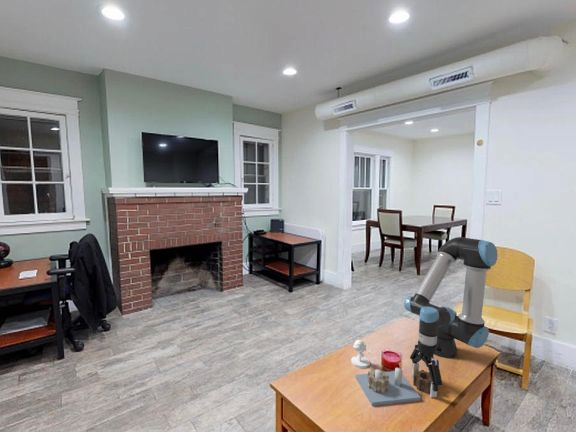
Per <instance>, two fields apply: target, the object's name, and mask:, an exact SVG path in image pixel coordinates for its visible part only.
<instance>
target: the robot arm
mask: <svg viewBox="0 0 576 432" xmlns="http://www.w3.org/2000/svg"><path fill="white" fill-rule="evenodd" d="M435 254H436V258H435V259H434V261H433V263H432V265H431V266H430V267H429V270H428V271H427V273H426V274H425V276H424V278H423V280H422V282H421V283H420V285H419V286H418V288H417V291H416V292H415V294H414V295H413V296H411V295H409V296H407V297H405V300H404V302H403V307H404V309H405V310H406V311H408V312H410V313H411V314H413V315H416V316H418V317H419V323H418V324H419V325H418V338H417V339H418V340H417V344H415V345H414V349H413V351H412V352H411V355H410V356H409V359H410V360H411V362H412V371H411V372H412V373H411V374H412V375H411V377H412V378H414V374H415V371H416V370H417V371H420V361H423V362H424V363H425V366H426V367H427V369H428V373H430V376H431V379H432V382H431V391H430V392H429V397H430V398H437V397H438V391H439V387H441V386H443V380H442V375H441V370H440V363H439V360H438V359H435V356H434V355H436V356H438V357H442V358H454V357H456V356H457V355H458V347H457V344H456V341H455V340H457V341H459V342H461V343H463V344H466V345H467V346H469V347H470V346H471V347H472V348H476V349H479V348H481V347H483V346H484V345H485V343H486V342H487V340H488V338H489V335H490V330H489V328H488V327H487V326H485V323H486V322H485V320H484V319H483V318H482V316H483V307H484V297H485V289H486V288H485V287H486V282H487V281H486V280H487V272H489V271H490V270H491V269H492V268H491V267H493V266H495V265H496V264H497V261H498V257H499V256H498V250H497V246H495V244H494V243H493V242H492V241H487V240H484V239H476V238H469V237H463V236H458V237H454V238H451V239H449V240H447V241H446V242H445V243H443V244H442V245H441V246H440V247H439V249H438V250H437V252H436V253H435ZM457 260H462V261H463V263H462V264H463V267H465V268H466V269H465V270H466V271H465V277H464V278H465V281H464V288H463V289H464V290H463V298H462V307H461V313H460V314H458V313H457V311H456V310H454V309H452V308H450V307H449V306H445V305H444V306H438V305H435V304H432V303H430V302H431V300H432V299H433V297H434V295H435V294H436V291H437V290H438V288H439V287H440V285H441V283H442V282H443V279H444V278H445V277H446V274H447V272H448V271H449V269H450V268H451V266H452V264H455V263H456V261H457ZM457 314H458V315H457Z"/></svg>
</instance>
